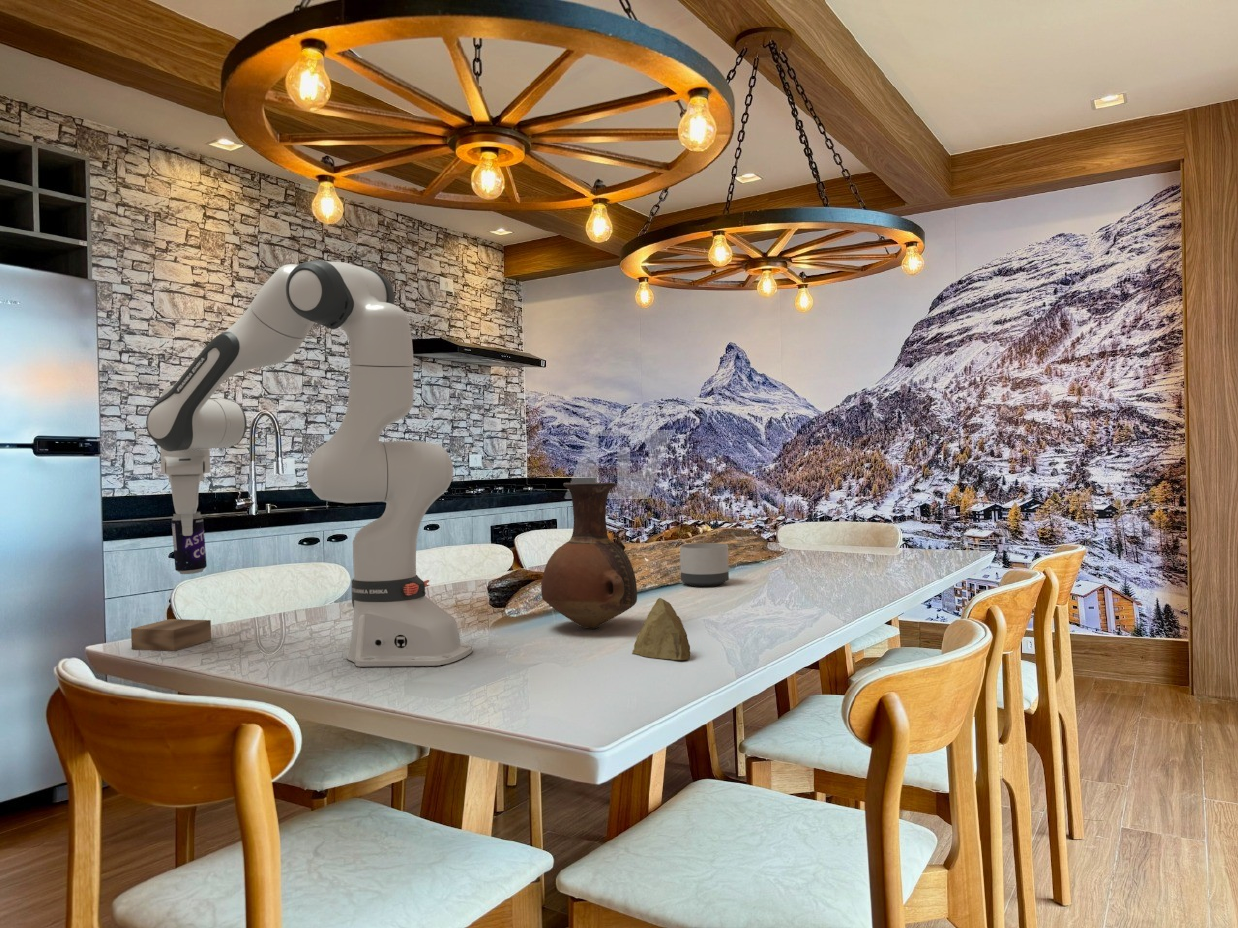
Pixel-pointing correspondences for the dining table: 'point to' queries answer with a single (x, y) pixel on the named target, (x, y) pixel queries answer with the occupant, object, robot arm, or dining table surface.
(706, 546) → the planter
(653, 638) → the rock
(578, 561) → the vase
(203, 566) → the beverage can
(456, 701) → the dining table surface
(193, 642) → the walnut block
